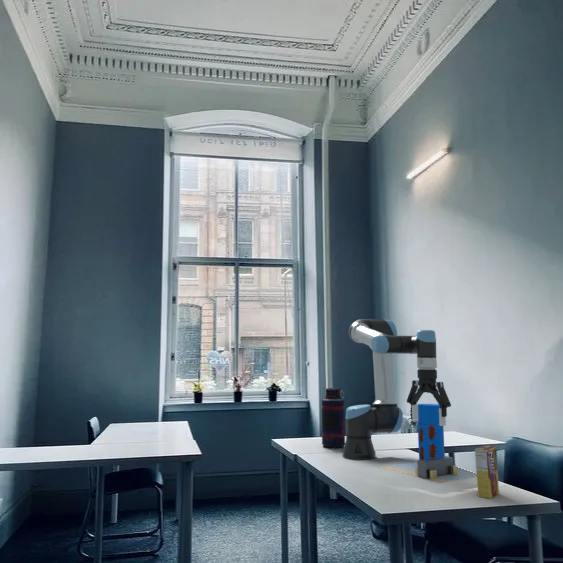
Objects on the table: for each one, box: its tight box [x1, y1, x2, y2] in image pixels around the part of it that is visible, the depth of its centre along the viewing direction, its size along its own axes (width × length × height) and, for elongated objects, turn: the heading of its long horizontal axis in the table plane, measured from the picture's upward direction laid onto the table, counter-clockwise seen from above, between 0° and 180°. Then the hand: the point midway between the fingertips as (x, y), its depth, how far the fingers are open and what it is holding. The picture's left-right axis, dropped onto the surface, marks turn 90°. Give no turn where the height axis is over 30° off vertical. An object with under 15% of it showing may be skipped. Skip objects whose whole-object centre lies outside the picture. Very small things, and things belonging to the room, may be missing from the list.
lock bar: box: [416, 455, 455, 480], centre depth 198 cm, size 16×4×6 cm, turn 124°
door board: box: [378, 461, 477, 483], centre depth 205 cm, size 32×22×1 cm
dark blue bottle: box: [321, 387, 346, 449], centre depth 274 cm, size 14×12×30 cm
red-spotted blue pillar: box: [416, 403, 446, 460], centre depth 228 cm, size 11×11×25 cm
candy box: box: [474, 445, 500, 499], centre depth 173 cm, size 9×4×15 cm, turn 140°
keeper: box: [415, 465, 459, 480], centre depth 198 cm, size 8×14×3 cm, turn 124°
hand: (428, 423), depth 205 cm, fingers open, 13 cm apart
